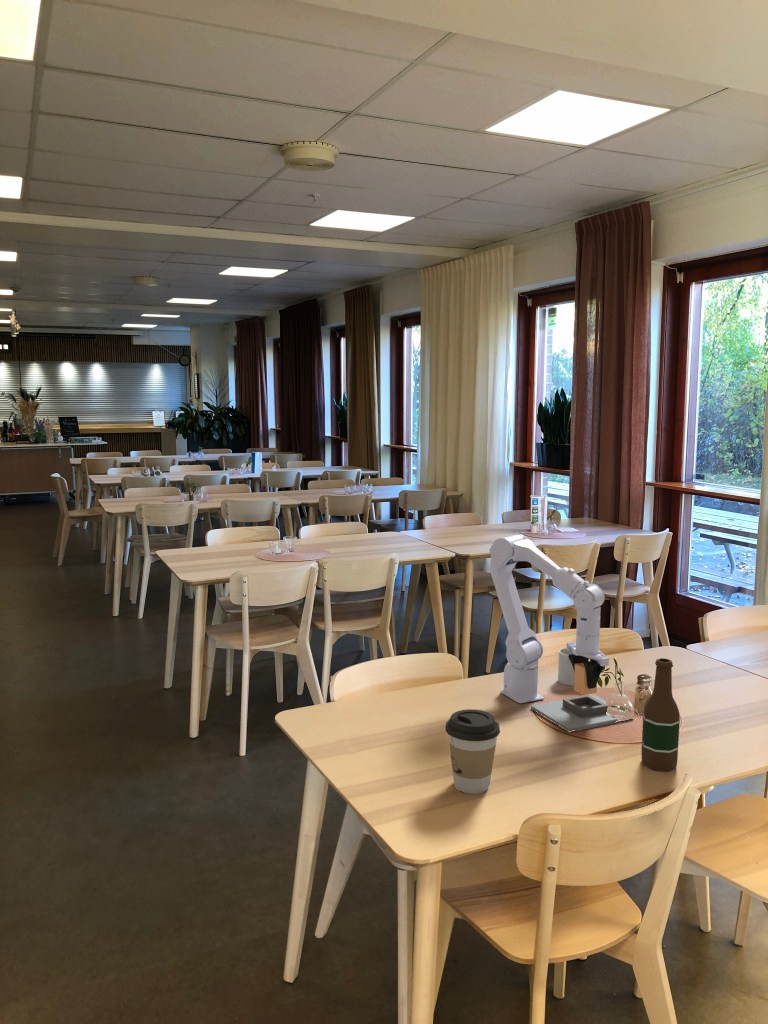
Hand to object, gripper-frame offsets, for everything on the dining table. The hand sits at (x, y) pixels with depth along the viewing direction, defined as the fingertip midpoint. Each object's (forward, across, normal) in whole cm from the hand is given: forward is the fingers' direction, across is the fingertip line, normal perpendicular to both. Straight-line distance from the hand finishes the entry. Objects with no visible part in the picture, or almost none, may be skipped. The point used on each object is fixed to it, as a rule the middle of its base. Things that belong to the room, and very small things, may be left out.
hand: (586, 684), depth 207 cm
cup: (+8, -19, +11) cm, 23 cm away
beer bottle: (+8, +30, -3) cm, 31 cm away
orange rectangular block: (+2, 0, 0) cm, 2 cm away
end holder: (+8, 0, -1) cm, 8 cm away
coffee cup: (+8, +22, -46) cm, 52 cm away
